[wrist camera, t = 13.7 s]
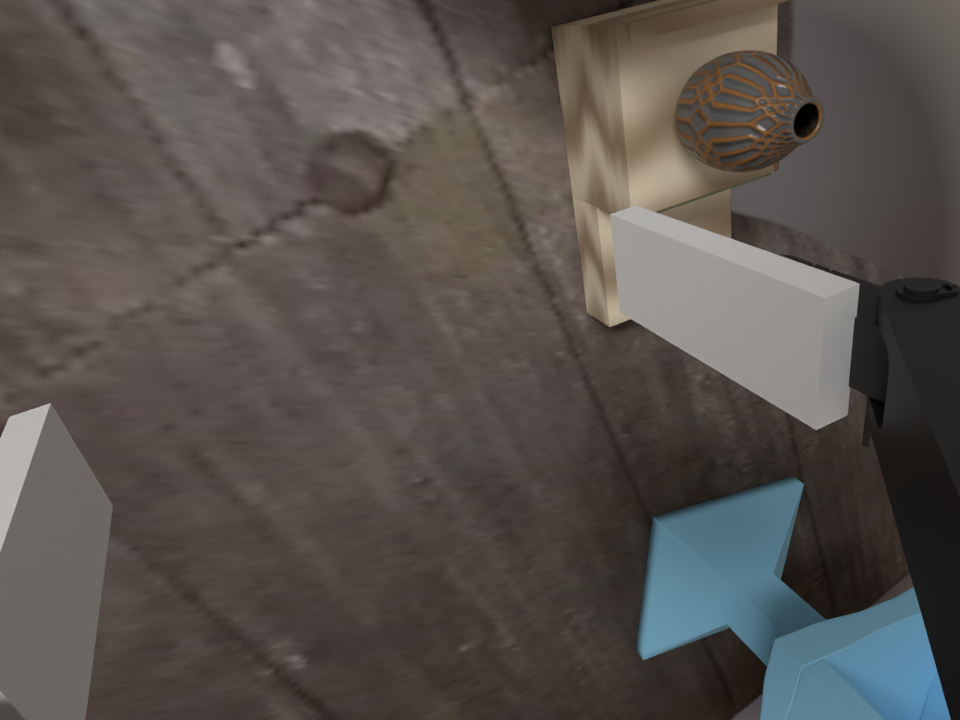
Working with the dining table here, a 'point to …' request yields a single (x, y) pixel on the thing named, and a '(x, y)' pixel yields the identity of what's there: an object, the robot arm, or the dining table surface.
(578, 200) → the stepped riser
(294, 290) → the dining table surface
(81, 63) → the dining table surface
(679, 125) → the vase
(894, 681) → the vase
